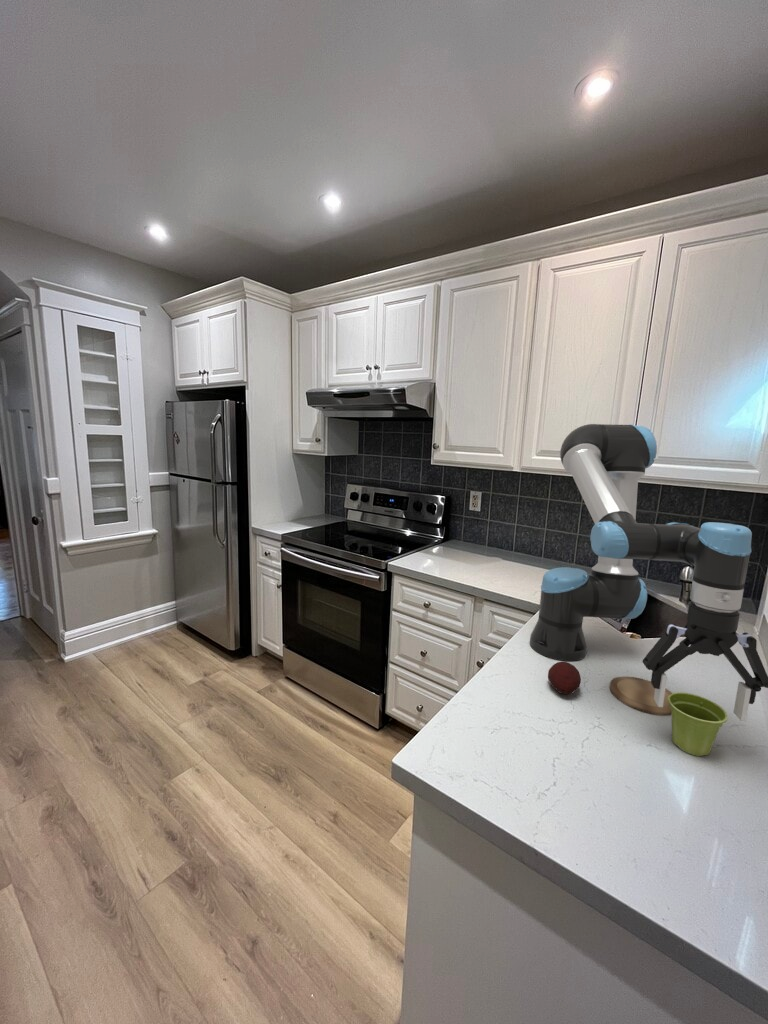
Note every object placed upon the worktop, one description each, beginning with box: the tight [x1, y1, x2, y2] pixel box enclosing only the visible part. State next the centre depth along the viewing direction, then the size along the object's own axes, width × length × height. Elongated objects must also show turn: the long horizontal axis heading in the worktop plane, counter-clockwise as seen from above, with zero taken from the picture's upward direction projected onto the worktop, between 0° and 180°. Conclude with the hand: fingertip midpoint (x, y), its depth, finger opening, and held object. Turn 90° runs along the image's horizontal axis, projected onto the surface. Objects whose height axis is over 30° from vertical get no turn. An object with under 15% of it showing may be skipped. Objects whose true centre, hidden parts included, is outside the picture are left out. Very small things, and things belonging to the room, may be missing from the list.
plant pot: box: [668, 691, 729, 757], centre depth 83 cm, size 9×9×9 cm
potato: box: [547, 661, 582, 695], centre depth 101 cm, size 7×10×6 cm
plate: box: [609, 675, 673, 716], centre depth 100 cm, size 14×14×1 cm
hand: (697, 710), depth 82 cm, fingers open, 13 cm apart
